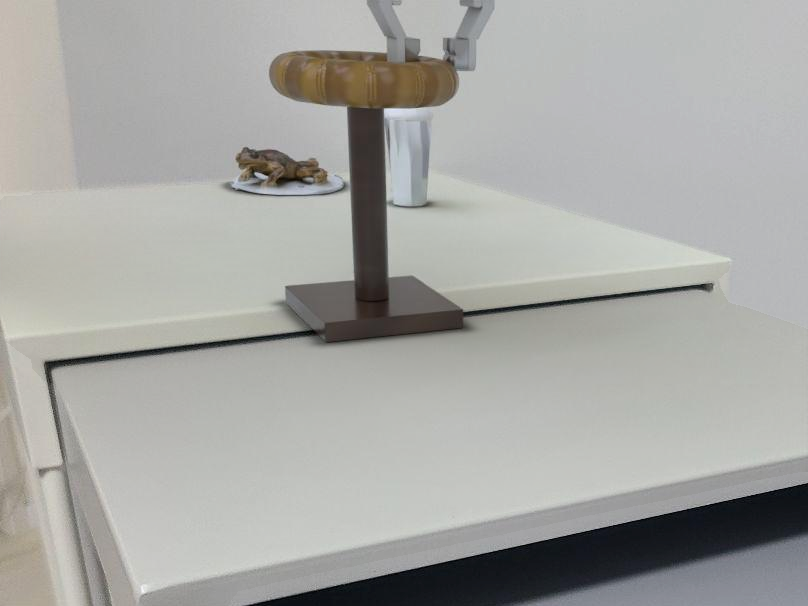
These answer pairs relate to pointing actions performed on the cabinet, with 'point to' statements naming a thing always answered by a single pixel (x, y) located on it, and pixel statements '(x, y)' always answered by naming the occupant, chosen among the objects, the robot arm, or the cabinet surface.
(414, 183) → the milkshake
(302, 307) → the post
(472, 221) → the cabinet surface
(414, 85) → the ring
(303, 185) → the frog figurine
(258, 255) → the cabinet surface
